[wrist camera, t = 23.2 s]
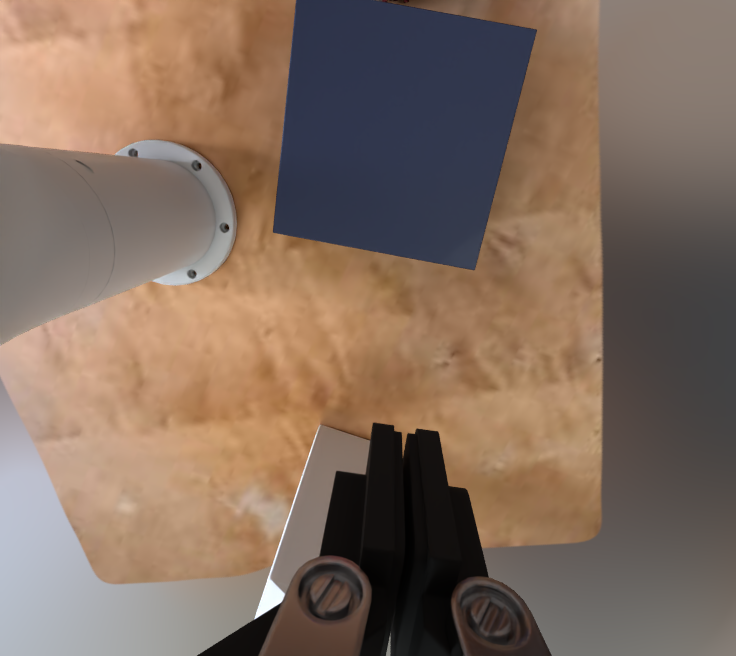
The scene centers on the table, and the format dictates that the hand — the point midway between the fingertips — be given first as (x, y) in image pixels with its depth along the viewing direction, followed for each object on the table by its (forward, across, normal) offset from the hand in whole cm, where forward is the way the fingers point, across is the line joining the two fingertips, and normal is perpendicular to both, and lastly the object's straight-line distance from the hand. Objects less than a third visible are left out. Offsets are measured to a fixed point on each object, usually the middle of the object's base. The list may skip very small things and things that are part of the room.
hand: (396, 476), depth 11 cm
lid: (+23, +1, -10) cm, 25 cm away
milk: (+30, +3, +21) cm, 37 cm away
